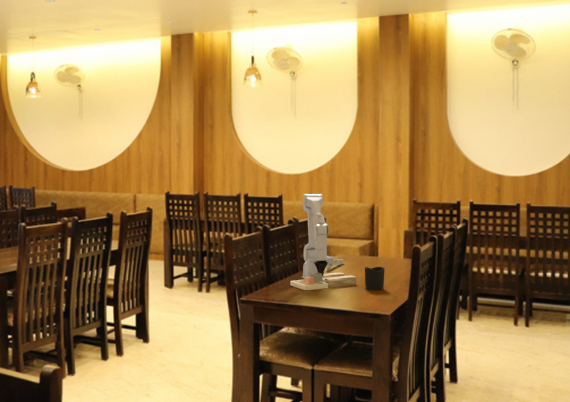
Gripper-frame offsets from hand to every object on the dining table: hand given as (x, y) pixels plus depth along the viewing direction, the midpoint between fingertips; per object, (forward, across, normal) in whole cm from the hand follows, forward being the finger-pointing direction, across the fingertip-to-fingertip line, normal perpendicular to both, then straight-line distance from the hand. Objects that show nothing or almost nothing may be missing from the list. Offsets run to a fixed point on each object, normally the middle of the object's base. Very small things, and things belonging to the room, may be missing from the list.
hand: (320, 276), depth 315 cm
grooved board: (+4, +8, 0) cm, 10 cm away
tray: (+4, -7, 0) cm, 8 cm away
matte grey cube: (+2, -3, -1) cm, 3 cm away
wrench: (+5, +36, +42) cm, 56 cm away
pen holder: (+5, +18, -19) cm, 27 cm away
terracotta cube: (+2, -5, 0) cm, 5 cm away
